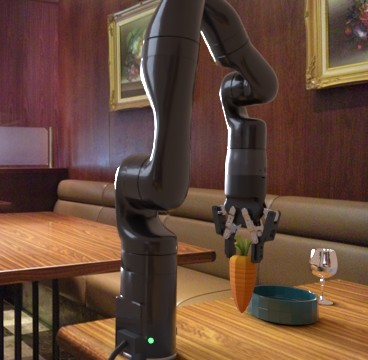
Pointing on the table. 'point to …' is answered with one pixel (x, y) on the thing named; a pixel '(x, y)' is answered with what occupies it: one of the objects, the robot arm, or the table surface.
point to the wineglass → (323, 267)
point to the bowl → (284, 305)
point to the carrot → (242, 275)
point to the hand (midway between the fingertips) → (243, 259)
